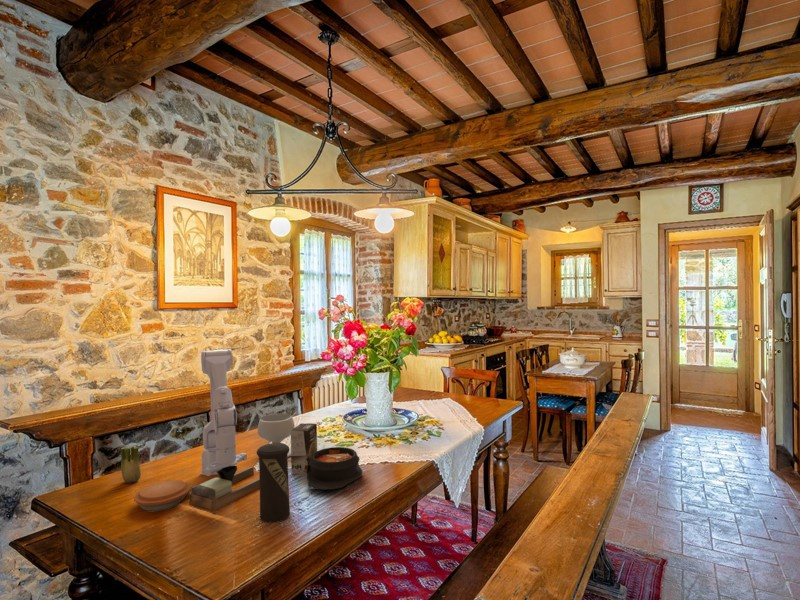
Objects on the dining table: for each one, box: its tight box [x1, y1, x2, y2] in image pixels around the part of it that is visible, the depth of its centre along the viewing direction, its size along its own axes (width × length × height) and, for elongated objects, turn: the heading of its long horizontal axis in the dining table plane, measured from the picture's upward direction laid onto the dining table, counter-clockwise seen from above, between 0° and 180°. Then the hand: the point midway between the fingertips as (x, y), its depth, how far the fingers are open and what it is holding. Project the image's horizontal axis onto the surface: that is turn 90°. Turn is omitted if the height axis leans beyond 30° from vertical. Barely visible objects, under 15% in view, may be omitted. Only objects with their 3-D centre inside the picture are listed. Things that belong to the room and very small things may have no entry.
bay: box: [188, 466, 260, 515], centre depth 140 cm, size 11×25×6 cm, turn 151°
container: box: [256, 442, 291, 524], centre depth 126 cm, size 9×9×20 cm
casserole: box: [306, 446, 363, 491], centre depth 150 cm, size 25×19×8 cm
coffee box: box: [290, 422, 318, 476], centre depth 157 cm, size 9×6×16 cm
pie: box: [133, 479, 192, 512], centre depth 136 cm, size 16×16×5 cm
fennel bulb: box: [120, 445, 142, 484], centre depth 152 cm, size 6×5×12 cm
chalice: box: [257, 412, 296, 458], centre depth 174 cm, size 14×14×15 cm
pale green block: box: [198, 476, 233, 498], centre depth 134 cm, size 7×6×5 cm
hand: (227, 490), depth 138 cm, fingers closed
